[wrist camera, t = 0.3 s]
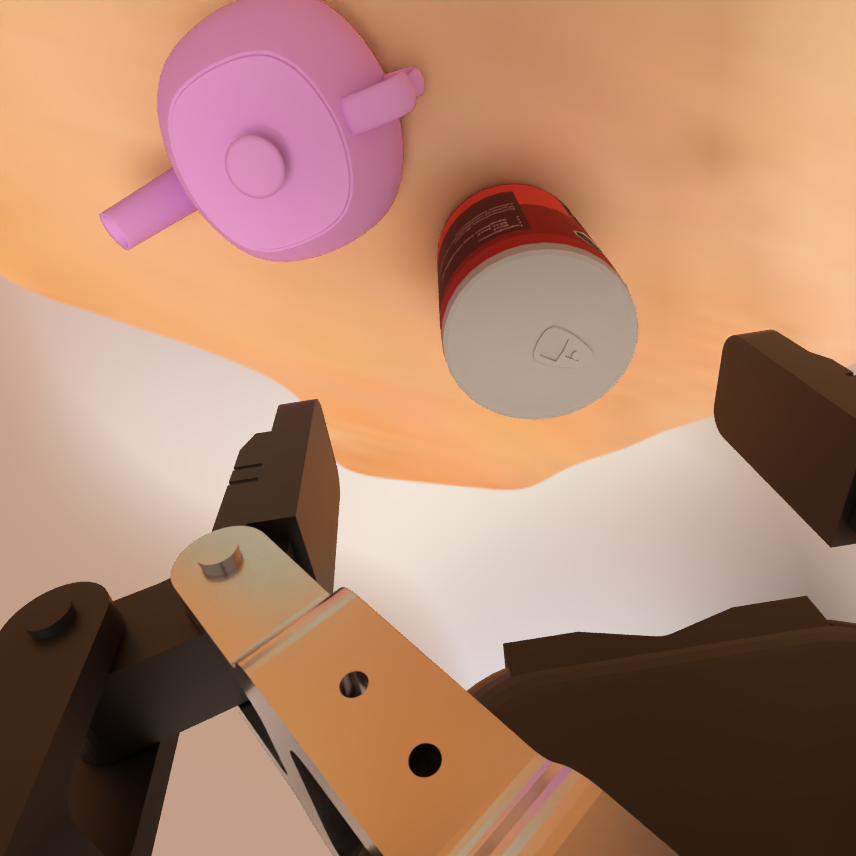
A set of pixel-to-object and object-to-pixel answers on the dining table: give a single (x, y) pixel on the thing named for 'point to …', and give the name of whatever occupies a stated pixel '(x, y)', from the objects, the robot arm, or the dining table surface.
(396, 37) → the dining table surface
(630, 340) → the canned food
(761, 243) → the dining table surface
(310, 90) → the teapot
